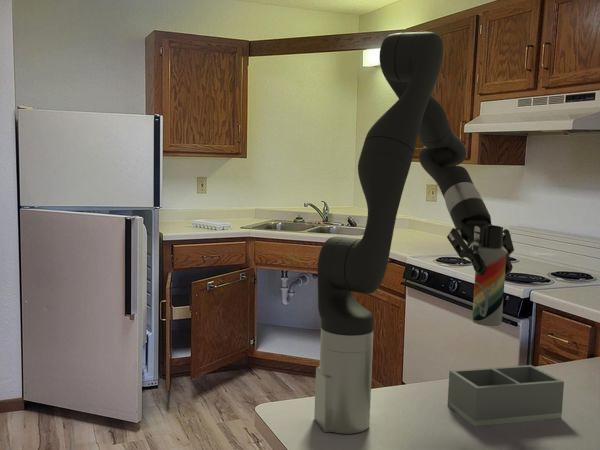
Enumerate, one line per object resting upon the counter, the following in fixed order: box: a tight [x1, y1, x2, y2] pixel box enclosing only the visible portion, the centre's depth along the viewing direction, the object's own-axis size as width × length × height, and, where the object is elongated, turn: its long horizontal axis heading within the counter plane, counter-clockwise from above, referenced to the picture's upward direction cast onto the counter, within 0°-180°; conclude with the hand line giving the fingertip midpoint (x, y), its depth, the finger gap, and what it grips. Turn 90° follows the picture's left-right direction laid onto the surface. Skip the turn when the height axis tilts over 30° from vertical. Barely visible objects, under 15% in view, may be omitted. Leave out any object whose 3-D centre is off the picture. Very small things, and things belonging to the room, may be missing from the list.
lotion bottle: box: [472, 224, 506, 327], centre depth 118 cm, size 6×6×20 cm
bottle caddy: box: [447, 364, 565, 427], centre depth 112 cm, size 18×10×7 cm, turn 105°
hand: (495, 272), depth 116 cm, fingers closed on lotion bottle, 5 cm apart
